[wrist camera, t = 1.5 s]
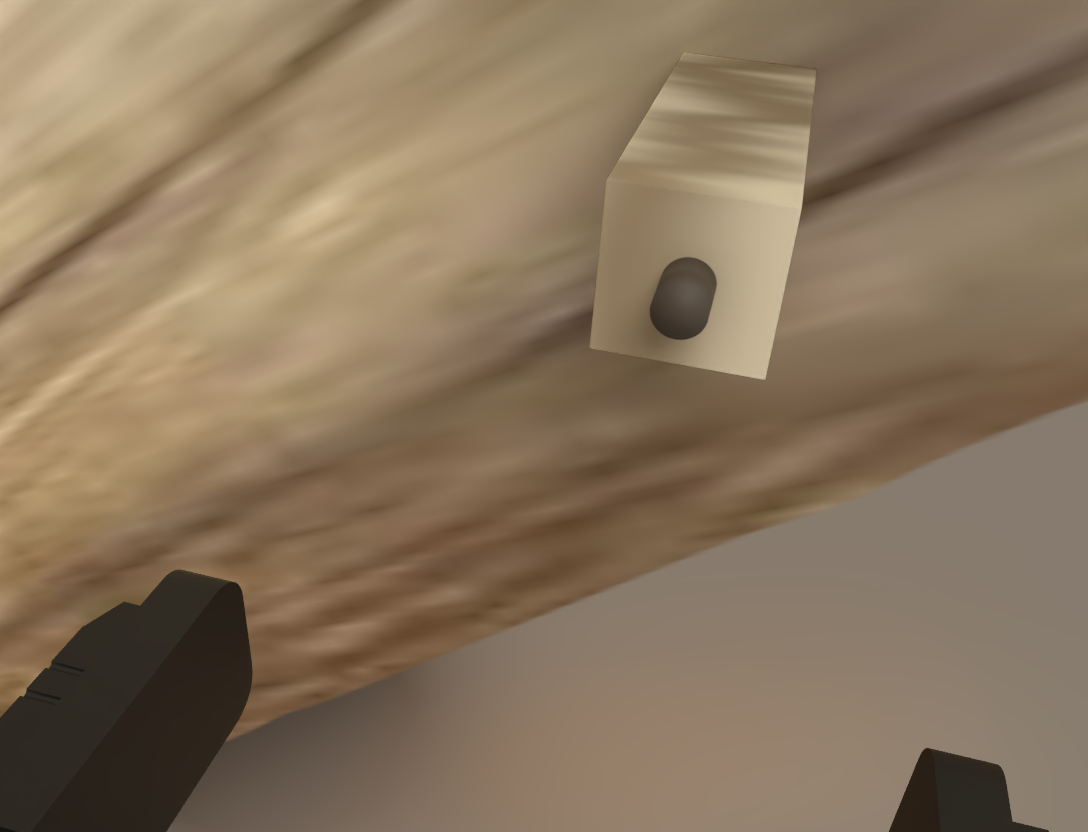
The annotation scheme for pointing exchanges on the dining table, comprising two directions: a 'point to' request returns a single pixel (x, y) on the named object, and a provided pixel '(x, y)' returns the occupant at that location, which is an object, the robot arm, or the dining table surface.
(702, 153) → the beige long rectangular block
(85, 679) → the robot arm
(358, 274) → the dining table surface
